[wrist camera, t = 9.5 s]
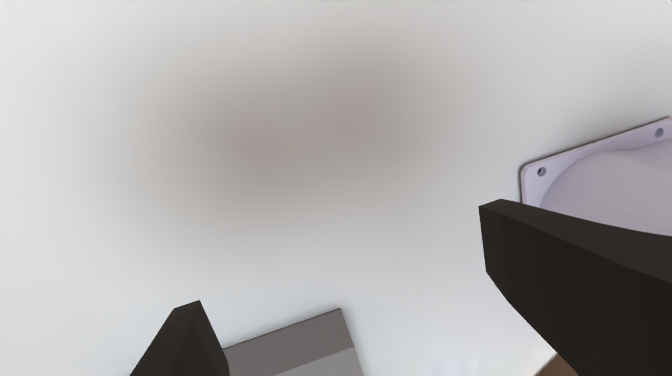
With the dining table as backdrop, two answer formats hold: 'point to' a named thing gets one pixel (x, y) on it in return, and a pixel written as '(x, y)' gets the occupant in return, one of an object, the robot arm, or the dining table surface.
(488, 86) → the dining table surface
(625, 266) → the robot arm
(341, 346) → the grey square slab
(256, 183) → the dining table surface
